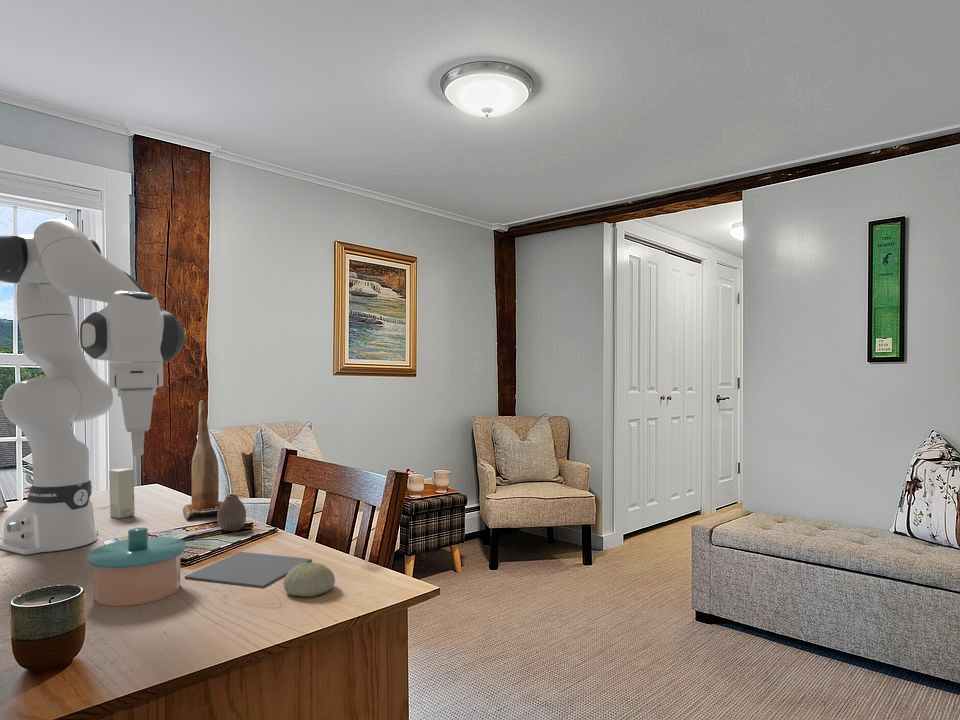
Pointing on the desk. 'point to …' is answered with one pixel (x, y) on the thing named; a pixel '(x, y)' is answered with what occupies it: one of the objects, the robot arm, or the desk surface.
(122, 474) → the box
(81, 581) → the desk surface
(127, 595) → the bowl
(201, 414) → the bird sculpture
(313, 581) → the sea urchin shell
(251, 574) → the mat
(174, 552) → the lid
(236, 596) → the desk surface
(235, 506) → the vase
